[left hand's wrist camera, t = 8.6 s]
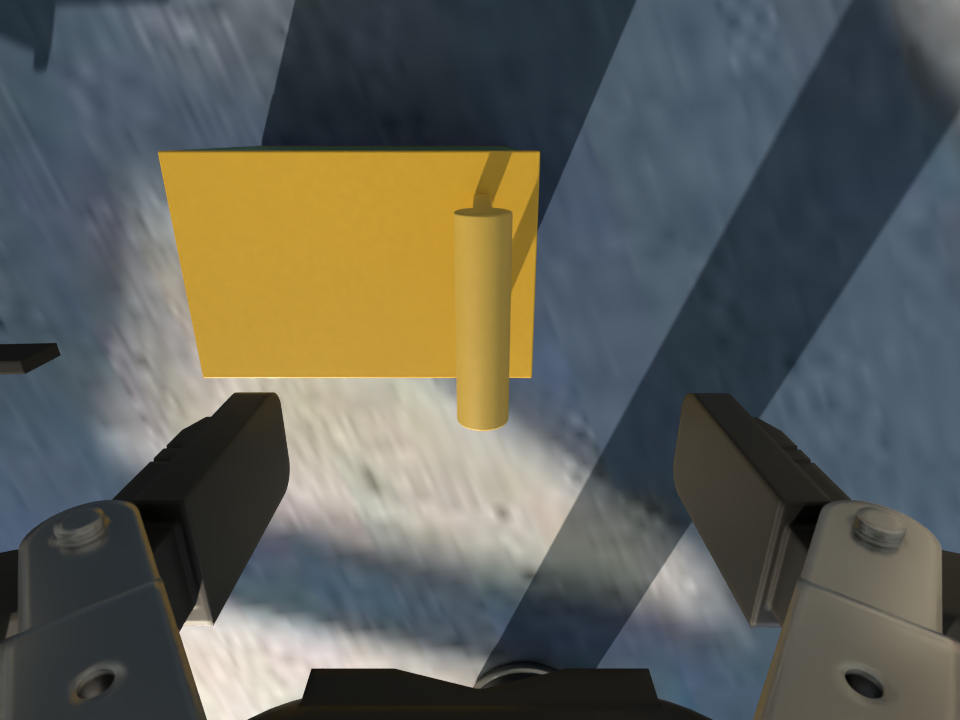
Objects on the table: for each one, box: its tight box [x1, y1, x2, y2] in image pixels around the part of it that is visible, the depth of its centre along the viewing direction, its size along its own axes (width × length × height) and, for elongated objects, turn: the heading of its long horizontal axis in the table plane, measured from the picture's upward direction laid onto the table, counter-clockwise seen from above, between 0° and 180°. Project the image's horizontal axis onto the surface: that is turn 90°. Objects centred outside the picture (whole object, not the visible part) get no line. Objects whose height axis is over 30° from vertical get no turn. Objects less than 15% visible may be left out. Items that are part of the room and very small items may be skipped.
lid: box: [158, 151, 540, 431], centre depth 21 cm, size 15×10×9 cm, turn 90°
